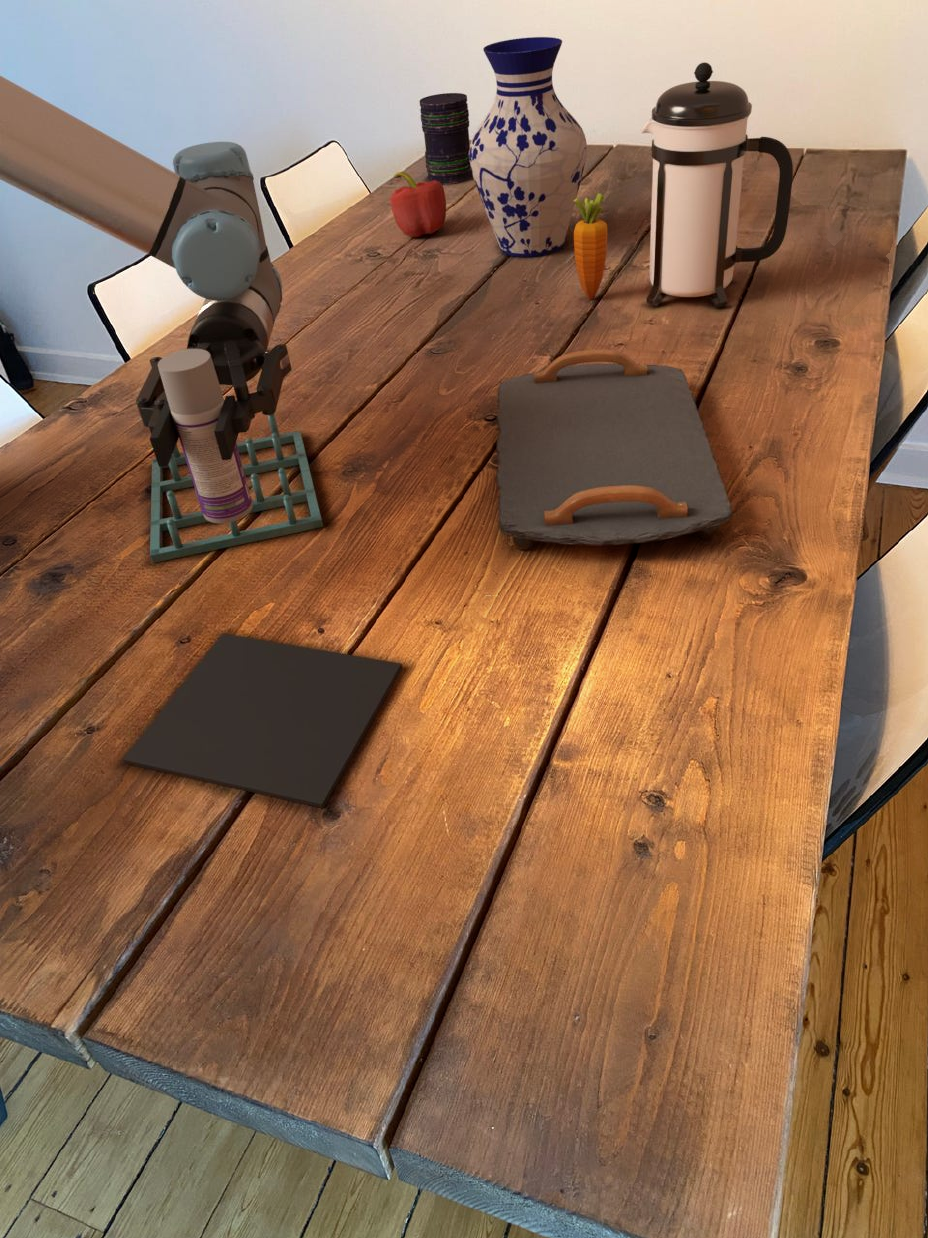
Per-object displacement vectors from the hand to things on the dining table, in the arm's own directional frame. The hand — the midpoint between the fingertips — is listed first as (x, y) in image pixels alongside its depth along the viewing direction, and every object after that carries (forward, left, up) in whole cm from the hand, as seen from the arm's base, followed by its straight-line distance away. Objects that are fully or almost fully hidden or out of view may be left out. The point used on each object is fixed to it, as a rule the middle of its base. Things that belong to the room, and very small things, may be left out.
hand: (190, 448), depth 79 cm
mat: (+10, -11, -18) cm, 23 cm away
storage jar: (-39, +139, -18) cm, 146 cm away
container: (-2, +5, -10) cm, 11 cm away
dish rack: (-13, +18, -18) cm, 29 cm away
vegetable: (-30, +105, -18) cm, 111 cm away
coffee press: (+25, +85, -18) cm, 91 cm away
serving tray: (+25, +35, -18) cm, 47 cm away
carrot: (+10, +80, -18) cm, 83 cm away
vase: (-7, +101, -18) cm, 103 cm away
